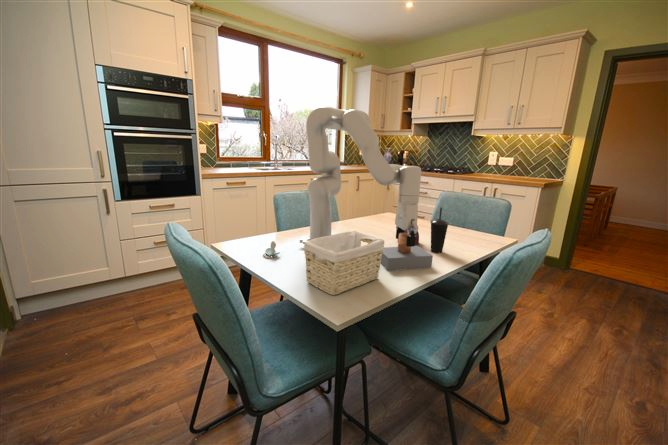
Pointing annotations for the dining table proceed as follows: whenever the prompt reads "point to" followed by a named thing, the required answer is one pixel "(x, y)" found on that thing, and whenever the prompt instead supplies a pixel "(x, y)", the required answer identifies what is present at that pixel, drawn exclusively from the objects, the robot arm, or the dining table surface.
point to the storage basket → (342, 261)
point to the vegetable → (415, 237)
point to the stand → (405, 259)
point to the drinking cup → (438, 234)
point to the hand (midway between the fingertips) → (404, 242)
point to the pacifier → (271, 250)
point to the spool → (403, 244)
